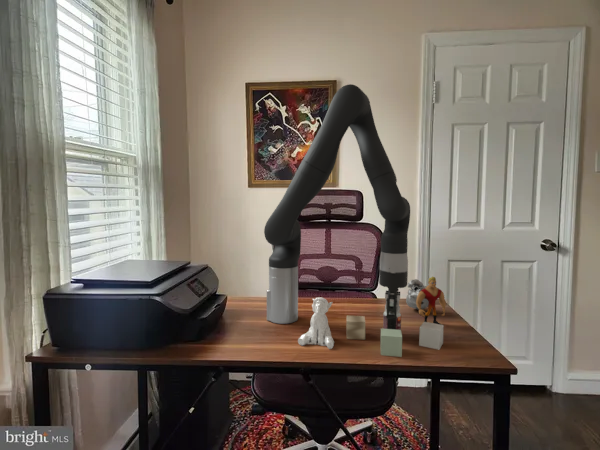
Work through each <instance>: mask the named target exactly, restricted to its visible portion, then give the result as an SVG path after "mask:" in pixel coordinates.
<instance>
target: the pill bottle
mask: <svg viewBox="0 0 600 450" xmlns="http://www.w3.org/2000/svg"><path fill="white" fill-rule="evenodd" d="M389 314H392V315H394V312H389ZM386 315H387V310H386V304H385V305H384V312H383V316H382V317H383V322H382V323H383V325H382V329H387V322H388V319H387V317H386ZM401 323H402V314H401V306H400V305H399V310H398V311H397V318H396V330H401V331H402V324H401Z"/></svg>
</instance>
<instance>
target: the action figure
mask: <svg viewBox="0 0 600 450" xmlns="http://www.w3.org/2000/svg"><path fill="white" fill-rule="evenodd" d="M427 283H428V285H426V286H427V287H426V288H425V289H423V290H421V291H420V292H419V294H418V296H417V300H416V305H417V307H418V309H419V310H418V314H419V316H421V317H422V318H424V321H423V322H428V318H429V317H430V314H431V312H432V317H433V321H432V323H435V324H440V325H442V324H441V323H440V322H438V320H437V318H438V315H437V311H436V309H437V308H436V302H437V300H438V303H439V304H440V306H441V308H442V314H441V317H445V316H446V306H447V305H446V304H447V302H446V299H445V294H444V291H442V290H441V289H440V288H439V287H437V279H436V277H435V276H431V277H429V278H428V282H427ZM423 299H427V300H428V302H429V304H428V307H427V312H426V311H425V310H424V309H421V303H422V301H423Z"/></svg>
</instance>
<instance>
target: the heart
mask: <svg viewBox="0 0 600 450" xmlns="http://www.w3.org/2000/svg"><path fill="white" fill-rule="evenodd" d="M427 286H428V285H424V283H423V282H421V281H420V280H419V279H417V278H415V279H410V281H409V282H407V288H409V289H408V290H407V295H406V296H405V297H406V299H405V303H406V304H407V307H409V308H411V309H415V310H418V311H419V309H418V307H417V305H416V300H417V296H418V294H419V292H420V291H421V290H423V289H425V288H426V287H427ZM428 304H429V302H428V300H427V299H423V301H422V303H421V309H422V310H424V309H428Z"/></svg>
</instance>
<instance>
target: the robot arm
mask: <svg viewBox="0 0 600 450" xmlns="http://www.w3.org/2000/svg"><path fill="white" fill-rule="evenodd" d="M376 127H377V126H376V123H375V119H374V115H373V110H372V106H371V102H370V99H369V97H368V95H367V94H366V93H365V92H364V91H363V90H362V89H361V88H360V87H359V86H357V85H355V84H349V83H348V84H346V85H343V86H341V87H340V88H339V89H338V90H337V91H336V92H335V94H334V95H333V98H331V102H330V104H329V106H328V110H327V111H326V114H325V116H324V119H323V121H322V123H321V126H320V127H319V129H318V131H317V133H316V135H315V136H314V139H313V140H312V142H311V144H310V146H309V147H308V149H307V152H306V153H305V155H304V156H303V159H302V160H301V162H300V164H299V166H298V168H297V169H296V172H295V174H294V176H293V178H292V179H291V182H290V183H289V184H288V187H287V189H286V191H285V193H284V195H283V196H282V198H281V200H280V202H279V203H278V204H277V206H276V207H275V208H274V210H273V212H272V213H271V215H270V217H269V218H268V219H267V220H266V223H265V225H264V229H263V233H264V237H265V238H264V239H265V240H266V242H267V243H268V244H269V245H271V246H274V248H273V251H272V253H271V255H270V256H269V258H268V289H267V290H266V321H270V322H271V323H274V324H285V325H286V324H292V323H295V322H297V321H298V319H299V259H300V256H301V248H302V247H301V245H302V244H301V243H302V230H301V229H302V227H301V224H300V222H299V220H298V218H299V216H300V215H301V214H302V211H303V210H304V209H305V208H306V207H307V206H308V204H309V203H310V202H311V201H312V200H313V199H314V198H315V197H316V196H317V195H318V194H319V193H320V191H321V190H322V189H323V188H324V186H325V185H326V182H327V181H328V179H329V178H330V175H331V174H332V173H333V169H334V168H335V165H336V162H337V156H338V153H339V149H340V146H341V143H342V140H343V137H344V135H345V134H346V133H347V131H348V129H349V128H350V129H351V131H352V133H353V135H354V137H355V139H356V142H357V145H358V149H359V152H360V157H361V162H362V167H363V168H364V171H365V173H366V176H367V179H368V180H369V184H370V186H371V188H372V190H373V195H374V199H375V204H376V206H377V209H378V211H379V214H380V216H381V217H382V218H383V219H384V230H383V232H382V234H381V238H380V257H379V272H378V273H379V277H378V280H379V282H378V284H379V285H380V286H382V287H383V288H388V290H385V293H384V299H385V305H386V310H387V315H386V317H387V319H388V322H387V329H395V330H396V318H397V311H398V310H399V306H400V300H401V291H399V289H403V288H404V289H405V288H406V287H408V279H409V278H408V277H409V276H408V275H409V274H408V273H409V259H408V258H409V257H408V246H409V245H408V244H409V243H408V242H409V241H408V239H409V238H408V231H409V227H410V220H411V205H410V202H409V201H408V200H407V198H405V197H404V196H402V193H401V192H400V190H399V186H398V184H397V182H398V179H397V175H396V172H395V170H394V167H393V166H392V164H391V160H390V159H389V157H388V154H387V152H386V149H385V148H384V145H383V143H382V141H381V138H380V136H379V133H378V130H377V128H376ZM389 312H394V315H392V314H389Z"/></svg>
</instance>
